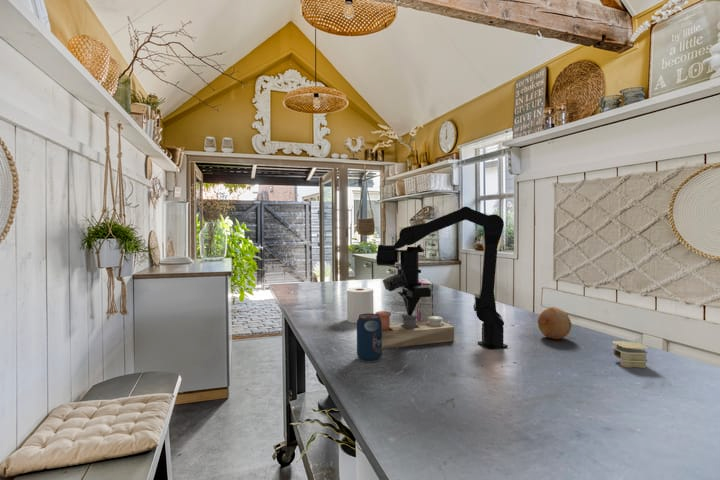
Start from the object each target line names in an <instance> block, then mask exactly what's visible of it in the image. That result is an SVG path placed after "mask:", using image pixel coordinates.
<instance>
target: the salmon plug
mask: <svg viewBox="0 0 720 480" xmlns="http://www.w3.org/2000/svg"><path fill="white" fill-rule="evenodd" d="M374 314H378V315H379V316H380V317H379V318H380V320H381V322H382V331H390V324H391V323H390V318H391V317H390V316H391V315H392V312H391V311H386V310H383V311H382V310H381V311H376V312H375V313H374Z"/></svg>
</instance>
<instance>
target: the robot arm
mask: <svg viewBox="0 0 720 480" xmlns="http://www.w3.org/2000/svg"><path fill="white" fill-rule="evenodd" d="M462 221H463V222H464V221H468V222H470V223H473V224H475V225H477V226H480V227H481V228H482V236H483V242H484V247H483V257H482V258H483V261H482V271H481V272H482V273H481V283H480V284H481V286H480V290H479V293H478V294H477V293H474V295H473V296H474V304H473V311H474V312H475V313H476V318H477V319H479V321H481V322H482V323H481V341H477V344H479V345H481V346H483V347H484V348H486V349H489V350H496V349H502V348H508V347H509V346H508V345H507V344H505V343H504V325H505V321H504V320H503V316H501V314H500V313H499V312H497V305H496V303H497V302H496V299H495V283H496V282H495V281H496V270H497V269H496V268H497V257H498V245H499V243H500V240H501V237H502V233H503V230H504V225H505V224H504V223H505V222H504V219H503V218H502V217H501V216H499V215H498V214H489V215H488V214H487V213H484V212H480V211H478V210H475V209H474V208H471V207H469V206H462V207H461V208H460V209H456V210H455V211H452V212H450V213H447V214H445V215H442V216H439V217H436V218H435V219H432V220H430V221H428V222H424V223H419V224H415V225H410V226H409V225H408V226H406V227H403V228H402V229H401V230H400V231H399V236H398V239H397V240H396V242H394V244H392V245H390V244H389V245H388V244H378V245H377V251H376V256H375V259H376V266H379V267H380V266H381V267H386V266H387V267H395V266H396V265H397V263H399V262H400V268H398V269H397V272H396V274H394V275H392V276H389V277H386V278H384V279H383V280H382V283H383V285H384V288H385V290H386V291H388V292H393V291H395V290H396V289H399V291H397V292H396V293H397V294H398V295H399V296H400V297H402V300H403V302H404V306H405V310H406V313H407V314H408V315H412V313H413V314H414V311H415V310H416V305H417V303H418V301H419V299H420V298H421V297H431V289H430V288H429V287H426V286H421V283H420V282H419V279H420V278H419V277H420V276H419V274H422V270H421V269H419V266H420V265H419V264H420V263H419V253H424V252H425V251H426V249H425V248H423V247H422V246H421V244H417V246H412V245H415V244H416V243H418V242H419V241H421V240H423V239H424V238H425V237H427V236H430V234H432V233H433V234H434V233H435V232H438V231H440V230H443V229H445V228H448V227H449V226H453V225H456V224H457V223H460V222H462ZM405 246H407V248H406V249H403V248H404V247H405Z"/></svg>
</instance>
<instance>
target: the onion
mask: <svg viewBox="0 0 720 480" xmlns="http://www.w3.org/2000/svg"><path fill="white" fill-rule="evenodd" d="M572 325H573V324H572V321H571V318H570V317H569V315H568V314H567V313H566V312H565V311H564V310H562V309H560V308H558V307H555V306H552V307H548V308H546V309H544V310H543V311H541V313H540V314H539V315H538V319H537V326H538V329H539V331H540V332H541V334H542V335H543V336H544V337H546V338H549V339H554V340H560V339H563V338H565V337H567V336H568V335H569V334H570V333H571V332H570V331H571V329H572Z"/></svg>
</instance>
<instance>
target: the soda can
mask: <svg viewBox="0 0 720 480" xmlns="http://www.w3.org/2000/svg"><path fill="white" fill-rule="evenodd" d="M379 317H380V316H379V315H378V314H375V313H373V314H361V315H359V318H358V320H357V323H356V356H357V358H359V360H360V361H361V362H363V363H365V362H366V363H374V362H378V361H380V359H381V357H382V356H383V349H382V322H381V320H380V318H379Z"/></svg>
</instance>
